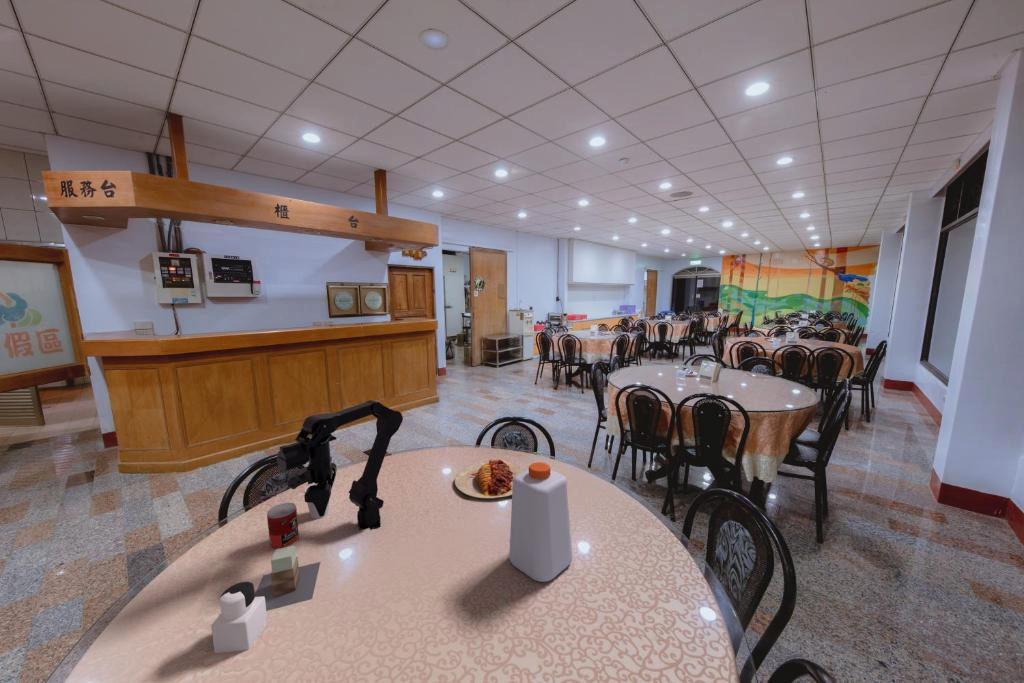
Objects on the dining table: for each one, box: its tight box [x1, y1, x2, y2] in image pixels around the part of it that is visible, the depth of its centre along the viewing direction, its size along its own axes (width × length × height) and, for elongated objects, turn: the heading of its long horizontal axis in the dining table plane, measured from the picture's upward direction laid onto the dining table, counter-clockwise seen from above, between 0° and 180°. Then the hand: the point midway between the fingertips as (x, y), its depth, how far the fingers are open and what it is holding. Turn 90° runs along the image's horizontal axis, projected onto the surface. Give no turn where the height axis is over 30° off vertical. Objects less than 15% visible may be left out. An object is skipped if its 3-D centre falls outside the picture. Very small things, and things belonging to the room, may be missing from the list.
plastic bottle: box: [508, 462, 573, 583], centre depth 103 cm, size 15×15×28 cm
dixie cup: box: [303, 483, 330, 520], centre depth 129 cm, size 8×8×10 cm
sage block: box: [270, 545, 297, 573], centre depth 95 cm, size 4×4×4 cm
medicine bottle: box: [210, 581, 268, 654], centre depth 81 cm, size 7×7×12 cm
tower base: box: [272, 566, 300, 596], centre depth 96 cm, size 5×5×3 cm
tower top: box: [270, 556, 299, 585], centre depth 95 cm, size 5×5×3 cm
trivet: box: [255, 561, 321, 612], centre depth 96 cm, size 14×14×1 cm
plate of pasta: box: [454, 459, 526, 499], centre depth 151 cm, size 31×35×7 cm
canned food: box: [266, 502, 300, 549], centre depth 114 cm, size 8×8×11 cm
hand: (324, 507), depth 110 cm, fingers open, 9 cm apart
